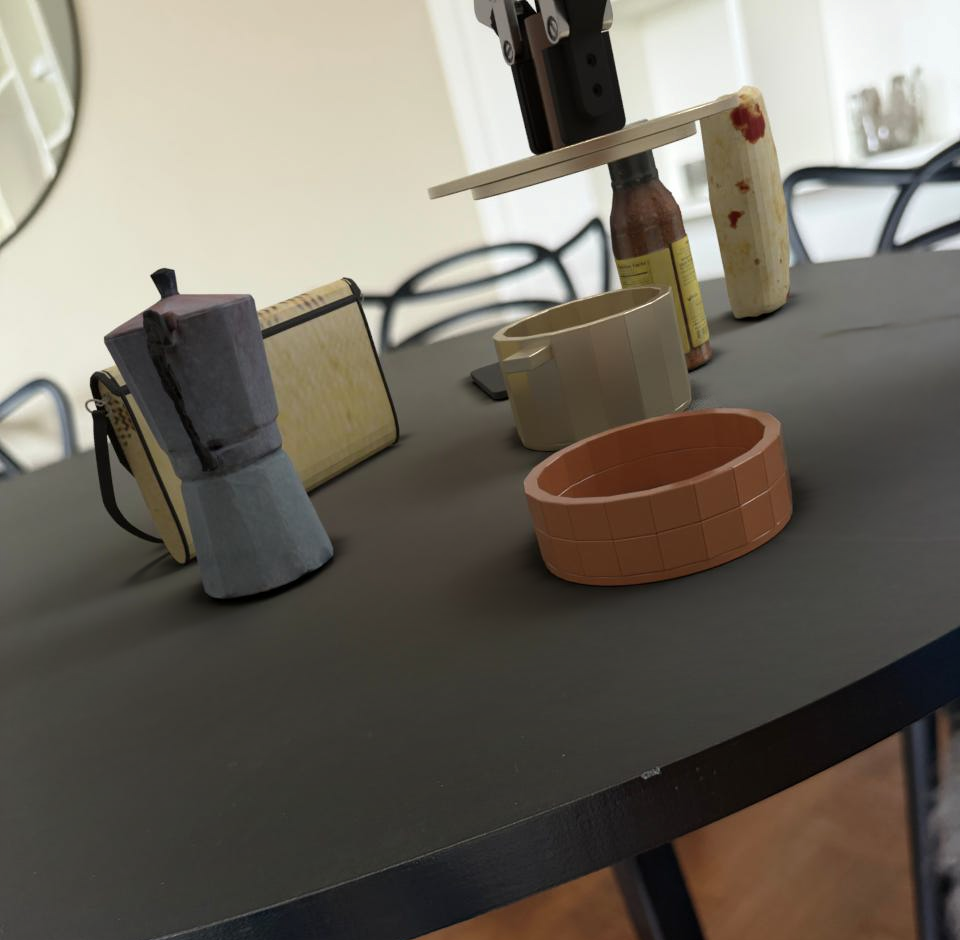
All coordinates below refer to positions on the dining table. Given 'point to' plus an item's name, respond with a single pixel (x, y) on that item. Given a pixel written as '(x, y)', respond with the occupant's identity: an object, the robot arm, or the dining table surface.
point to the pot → (594, 365)
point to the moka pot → (221, 437)
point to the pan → (661, 497)
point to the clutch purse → (300, 398)
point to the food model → (748, 205)
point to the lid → (582, 153)
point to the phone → (491, 380)
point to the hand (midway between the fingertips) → (577, 138)
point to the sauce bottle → (656, 246)
